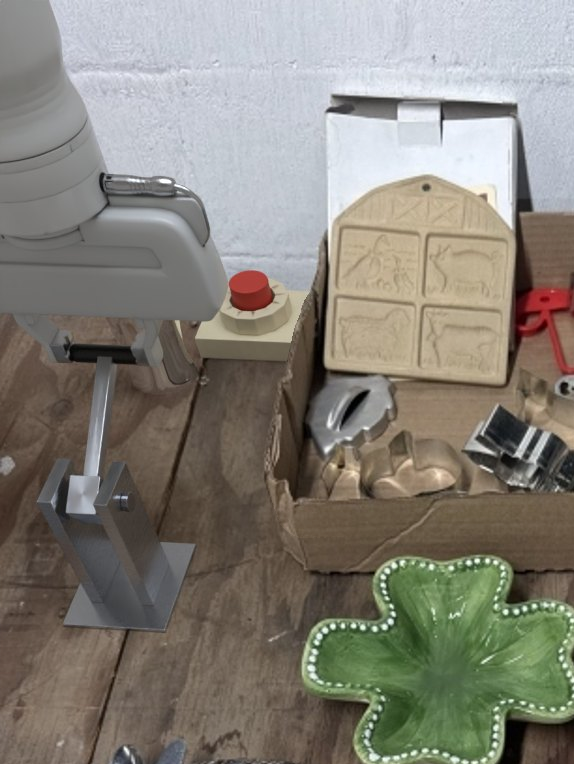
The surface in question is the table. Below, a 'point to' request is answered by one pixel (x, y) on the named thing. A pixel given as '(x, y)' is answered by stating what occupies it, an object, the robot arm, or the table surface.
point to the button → (250, 290)
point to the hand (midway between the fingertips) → (107, 359)
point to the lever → (96, 426)
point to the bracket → (115, 555)
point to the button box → (252, 328)
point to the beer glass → (175, 362)
